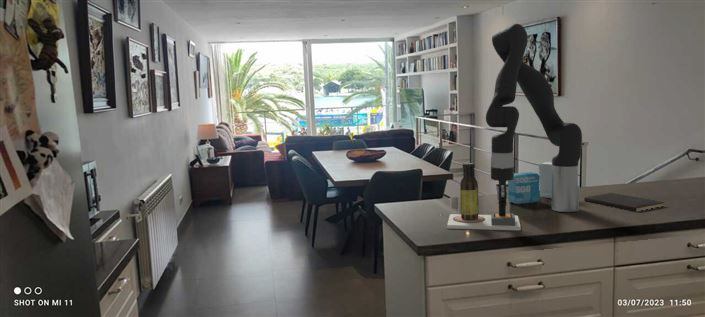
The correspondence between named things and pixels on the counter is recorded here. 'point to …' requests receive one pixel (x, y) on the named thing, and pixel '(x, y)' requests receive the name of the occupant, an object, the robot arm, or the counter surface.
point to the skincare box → (545, 179)
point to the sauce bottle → (469, 193)
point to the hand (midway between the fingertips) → (502, 215)
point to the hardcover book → (623, 202)
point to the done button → (502, 216)
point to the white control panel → (484, 222)
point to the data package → (523, 188)
